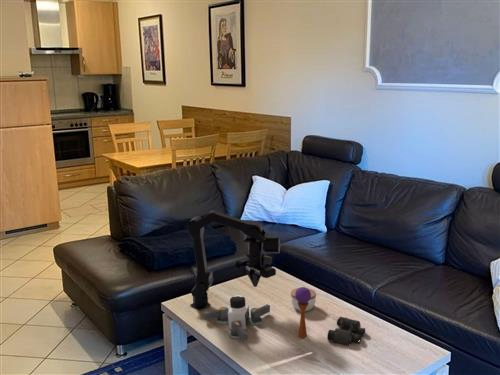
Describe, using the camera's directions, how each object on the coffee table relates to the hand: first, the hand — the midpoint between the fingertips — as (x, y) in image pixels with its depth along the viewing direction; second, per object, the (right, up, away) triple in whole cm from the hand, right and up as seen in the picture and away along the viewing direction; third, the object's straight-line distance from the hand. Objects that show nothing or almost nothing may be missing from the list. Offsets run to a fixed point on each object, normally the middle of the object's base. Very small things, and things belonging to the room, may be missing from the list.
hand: (255, 286), depth 208 cm
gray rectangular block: (-6, -15, -20) cm, 26 cm away
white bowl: (+21, -11, +3) cm, 23 cm away
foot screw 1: (-16, -12, -7) cm, 21 cm away
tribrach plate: (-7, -13, -9) cm, 18 cm away
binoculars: (+35, -16, -19) cm, 43 cm away
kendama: (+18, -15, -19) cm, 30 cm away
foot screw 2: (+2, -11, -5) cm, 13 cm away
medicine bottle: (-6, -13, -10) cm, 18 cm away
